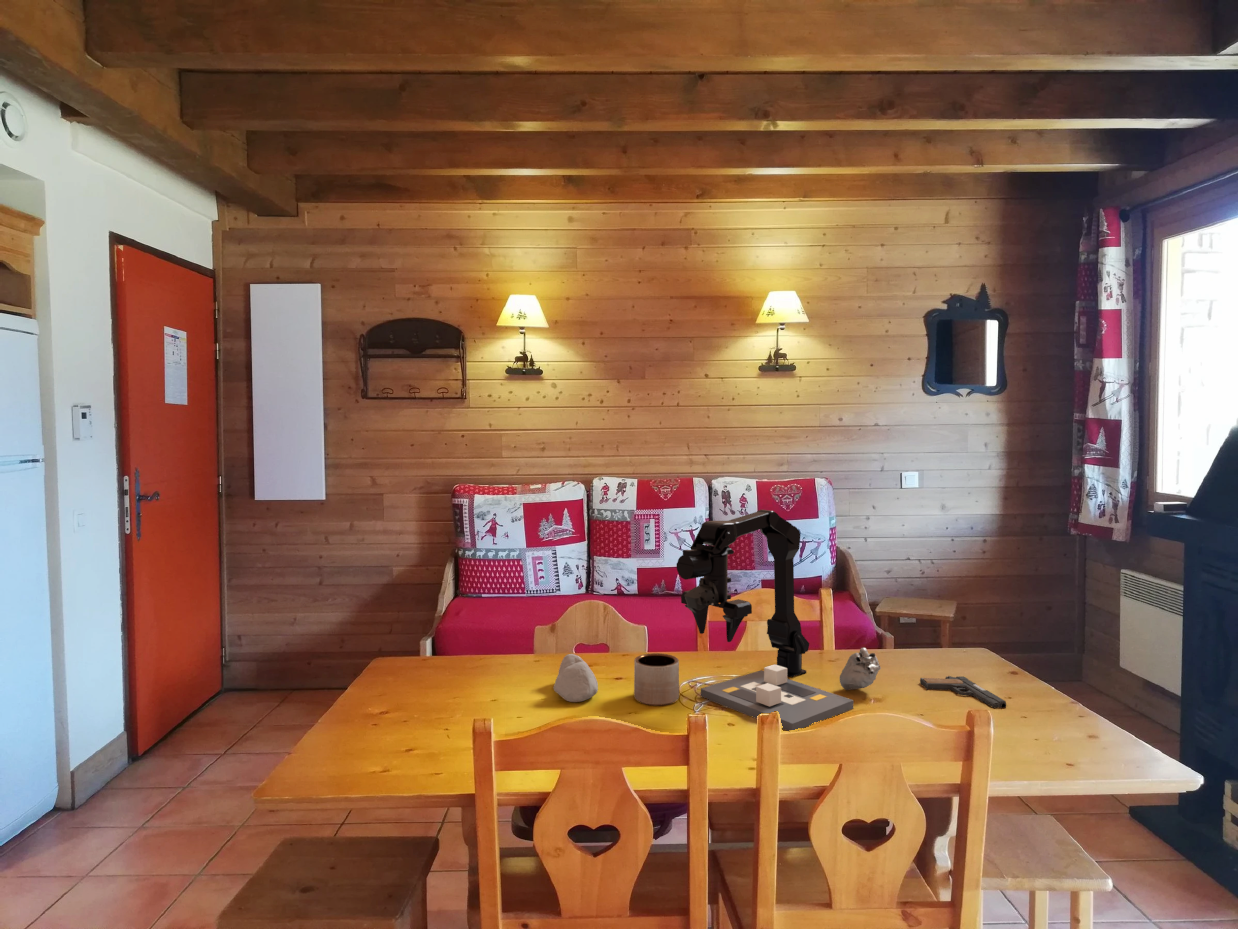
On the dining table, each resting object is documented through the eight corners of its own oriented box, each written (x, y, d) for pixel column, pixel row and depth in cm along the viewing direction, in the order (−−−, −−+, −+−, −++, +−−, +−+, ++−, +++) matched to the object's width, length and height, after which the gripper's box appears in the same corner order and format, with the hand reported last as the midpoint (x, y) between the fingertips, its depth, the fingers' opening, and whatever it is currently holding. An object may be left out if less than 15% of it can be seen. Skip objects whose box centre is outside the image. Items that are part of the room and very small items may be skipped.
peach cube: (774, 678, 197) (774, 664, 197) (787, 682, 194) (787, 668, 194) (764, 681, 194) (764, 667, 194) (776, 685, 191) (776, 671, 191)
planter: (676, 708, 183) (676, 668, 183) (630, 705, 186) (630, 665, 185) (681, 692, 194) (681, 654, 193) (638, 689, 196) (638, 651, 196)
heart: (880, 684, 198) (872, 637, 198) (887, 697, 189) (878, 648, 188) (839, 689, 199) (831, 643, 199) (844, 702, 190) (836, 654, 190)
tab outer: (767, 697, 183) (767, 683, 183) (781, 702, 180) (781, 687, 180) (756, 701, 181) (756, 686, 181) (769, 706, 178) (769, 691, 177)
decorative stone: (605, 693, 186) (580, 659, 186) (570, 718, 185) (546, 684, 185) (600, 675, 203) (577, 643, 203) (568, 698, 202) (546, 666, 202)
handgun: (961, 716, 181) (1008, 710, 183) (961, 706, 181) (1008, 700, 183) (916, 685, 200) (959, 681, 202) (916, 676, 200) (959, 672, 202)
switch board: (761, 677, 204) (761, 669, 204) (853, 708, 183) (853, 699, 182) (700, 696, 191) (700, 687, 191) (792, 732, 169) (792, 722, 169)
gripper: (664, 572, 191) (664, 635, 192) (720, 585, 177) (720, 653, 178) (697, 566, 198) (697, 627, 199) (753, 578, 184) (753, 644, 185)
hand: (715, 637), depth 190 cm, fingers open, 9 cm apart
